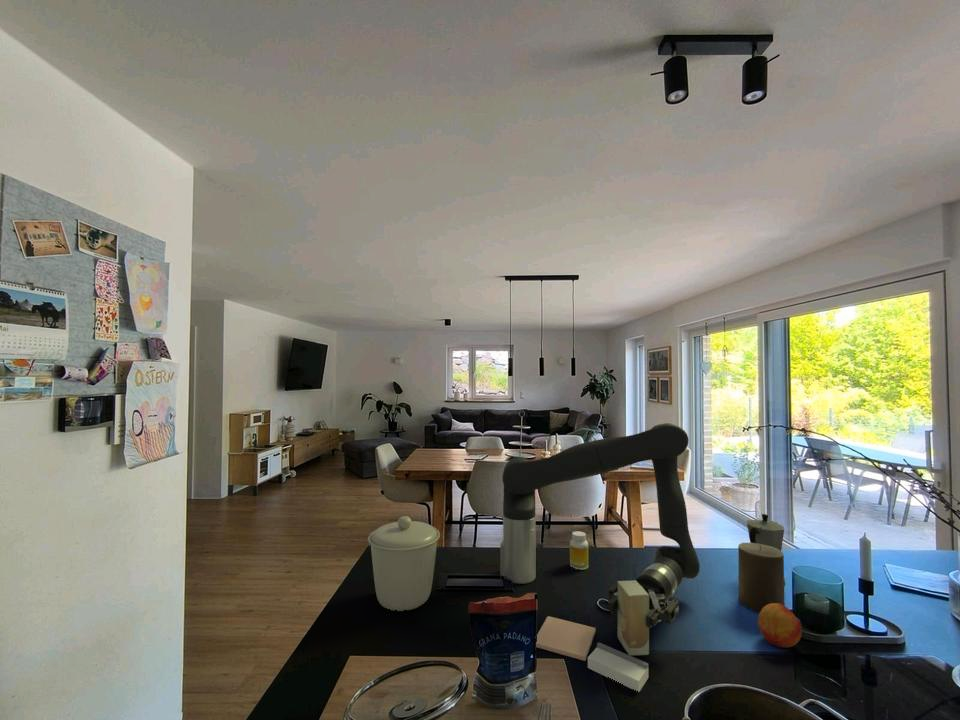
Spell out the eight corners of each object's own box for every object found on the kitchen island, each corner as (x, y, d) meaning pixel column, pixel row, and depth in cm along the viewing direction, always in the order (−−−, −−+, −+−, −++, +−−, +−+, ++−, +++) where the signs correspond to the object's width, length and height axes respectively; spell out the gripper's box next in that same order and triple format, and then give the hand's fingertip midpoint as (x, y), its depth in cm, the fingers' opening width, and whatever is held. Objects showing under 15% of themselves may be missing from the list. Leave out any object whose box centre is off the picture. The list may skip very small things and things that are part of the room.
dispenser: (587, 667, 84) (587, 654, 84) (598, 655, 88) (598, 642, 88) (638, 692, 77) (638, 677, 78) (648, 677, 81) (648, 663, 81)
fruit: (812, 658, 87) (811, 618, 87) (768, 653, 88) (767, 614, 89) (791, 635, 95) (790, 598, 95) (751, 631, 96) (750, 595, 96)
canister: (385, 580, 120) (386, 504, 120) (448, 587, 116) (448, 508, 117) (353, 616, 102) (354, 526, 103) (426, 625, 98) (426, 532, 99)
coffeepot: (758, 566, 129) (756, 506, 129) (795, 578, 121) (793, 514, 122) (733, 580, 120) (732, 515, 121) (771, 594, 112) (770, 525, 113)
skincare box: (616, 637, 92) (616, 579, 93) (636, 636, 93) (635, 579, 93) (629, 657, 86) (628, 595, 86) (650, 656, 86) (649, 594, 86)
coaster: (533, 646, 91) (533, 642, 91) (547, 619, 101) (547, 616, 101) (585, 661, 86) (585, 657, 86) (595, 631, 96) (595, 627, 96)
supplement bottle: (588, 571, 126) (588, 537, 126) (570, 569, 127) (569, 536, 127) (588, 563, 131) (587, 531, 131) (570, 561, 132) (569, 529, 132)
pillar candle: (770, 619, 101) (770, 554, 101) (730, 600, 109) (729, 540, 110) (793, 609, 105) (792, 547, 106) (752, 591, 114) (752, 534, 114)
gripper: (625, 560, 105) (596, 585, 92) (688, 578, 96) (665, 609, 83) (625, 591, 105) (596, 621, 92) (689, 612, 96) (665, 649, 83)
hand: (629, 615), depth 88 cm, fingers closed on skincare box, 7 cm apart
